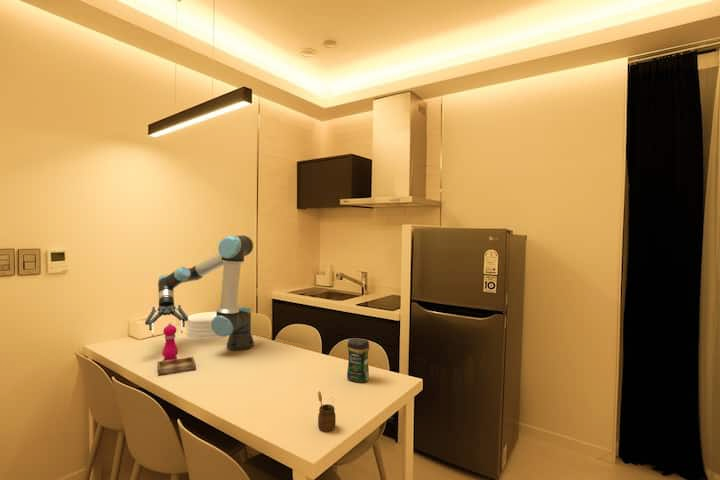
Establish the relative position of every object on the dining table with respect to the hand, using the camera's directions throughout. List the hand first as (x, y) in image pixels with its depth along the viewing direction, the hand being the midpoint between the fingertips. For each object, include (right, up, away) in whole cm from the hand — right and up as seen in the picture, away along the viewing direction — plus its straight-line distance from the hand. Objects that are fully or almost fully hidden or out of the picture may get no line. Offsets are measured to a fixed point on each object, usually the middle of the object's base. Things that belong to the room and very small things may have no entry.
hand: (167, 333), depth 200 cm
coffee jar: (+99, -15, -25) cm, 103 cm away
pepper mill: (+2, -14, -2) cm, 14 cm away
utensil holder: (+88, -16, -68) cm, 113 cm away
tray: (+11, -14, -13) cm, 22 cm away
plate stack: (+2, -13, +52) cm, 54 cm away
